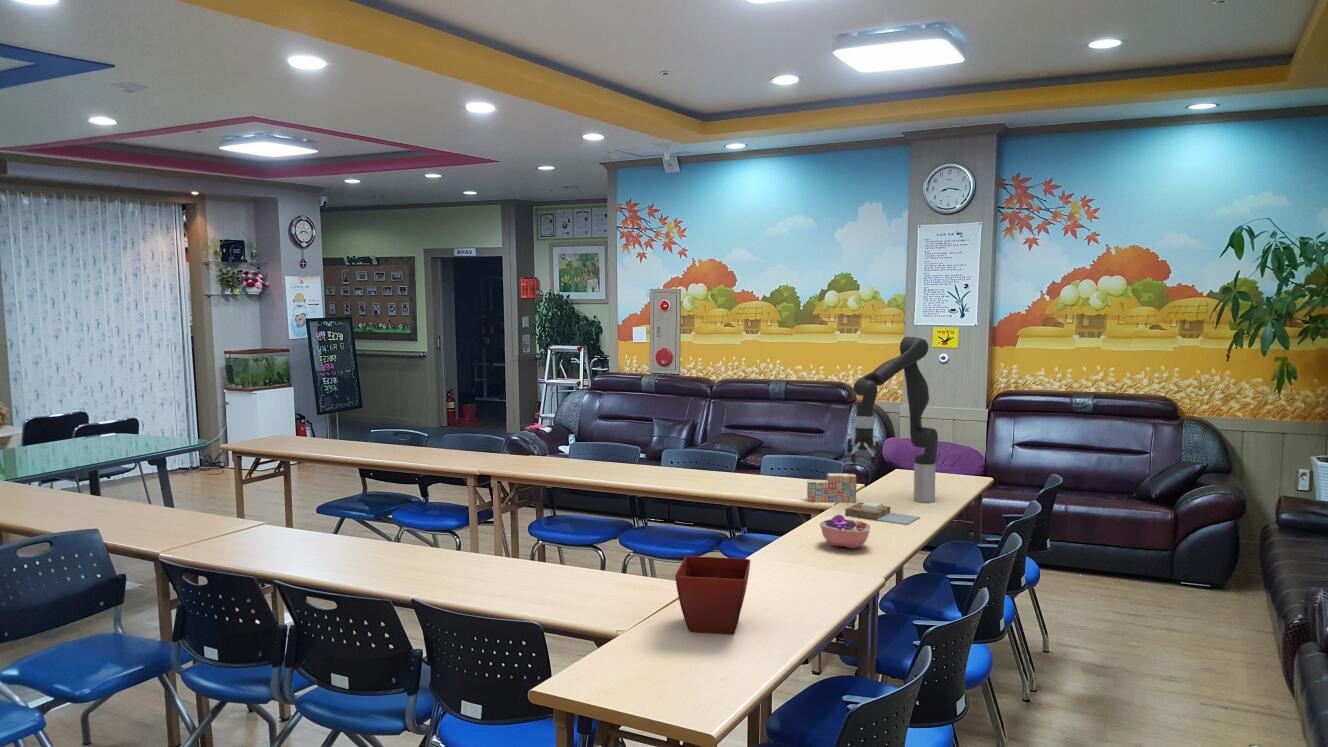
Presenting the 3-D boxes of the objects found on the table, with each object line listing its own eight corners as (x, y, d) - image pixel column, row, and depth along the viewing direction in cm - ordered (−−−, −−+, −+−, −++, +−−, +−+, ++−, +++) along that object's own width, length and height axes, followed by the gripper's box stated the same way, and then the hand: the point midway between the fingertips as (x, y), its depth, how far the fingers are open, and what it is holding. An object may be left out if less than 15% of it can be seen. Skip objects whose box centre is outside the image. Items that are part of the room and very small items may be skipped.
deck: (859, 509, 387) (859, 502, 387) (890, 513, 379) (890, 506, 378) (845, 516, 375) (845, 509, 375) (876, 520, 367) (876, 513, 367)
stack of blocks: (808, 502, 401) (808, 475, 401) (807, 499, 408) (807, 472, 407) (856, 503, 400) (856, 476, 399) (854, 500, 406) (854, 473, 405)
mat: (890, 513, 379) (890, 512, 379) (920, 517, 371) (920, 516, 371) (876, 520, 367) (876, 519, 367) (907, 525, 360) (907, 523, 359)
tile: (869, 505, 381) (869, 501, 380) (882, 507, 377) (882, 503, 377) (861, 509, 374) (861, 504, 374) (875, 511, 371) (875, 506, 371)
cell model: (848, 557, 316) (848, 525, 315) (809, 544, 333) (809, 514, 332) (881, 549, 325) (882, 518, 324) (842, 537, 342) (842, 508, 341)
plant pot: (745, 640, 239) (745, 579, 238) (674, 636, 242) (674, 575, 241) (750, 615, 258) (750, 558, 256) (685, 612, 261) (685, 555, 260)
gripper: (883, 426, 380) (882, 464, 381) (852, 424, 388) (851, 461, 389) (876, 428, 374) (875, 467, 375) (845, 425, 382) (844, 463, 383)
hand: (863, 463), depth 382 cm, fingers open, 8 cm apart
